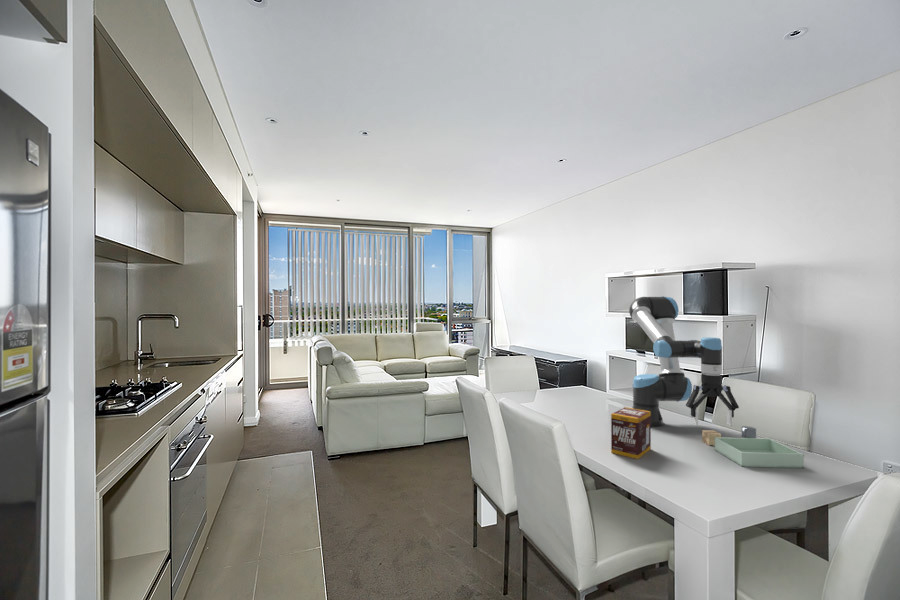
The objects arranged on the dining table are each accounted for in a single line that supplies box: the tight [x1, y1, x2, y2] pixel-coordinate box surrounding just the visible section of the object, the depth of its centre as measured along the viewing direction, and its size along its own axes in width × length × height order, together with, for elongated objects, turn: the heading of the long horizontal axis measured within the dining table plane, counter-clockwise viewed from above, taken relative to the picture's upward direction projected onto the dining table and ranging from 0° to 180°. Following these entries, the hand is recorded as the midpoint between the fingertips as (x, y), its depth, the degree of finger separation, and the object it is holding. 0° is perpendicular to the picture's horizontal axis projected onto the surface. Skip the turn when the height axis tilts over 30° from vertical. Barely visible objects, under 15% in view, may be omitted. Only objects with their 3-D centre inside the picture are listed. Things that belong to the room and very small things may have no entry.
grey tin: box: [741, 425, 757, 438], centre depth 176 cm, size 5×5×7 cm
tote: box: [714, 437, 805, 469], centre depth 161 cm, size 17×21×5 cm
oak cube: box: [701, 429, 722, 447], centre depth 177 cm, size 5×5×5 cm
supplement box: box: [610, 407, 652, 460], centre depth 169 cm, size 10×15×16 cm
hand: (712, 424), depth 177 cm, fingers open, 13 cm apart
